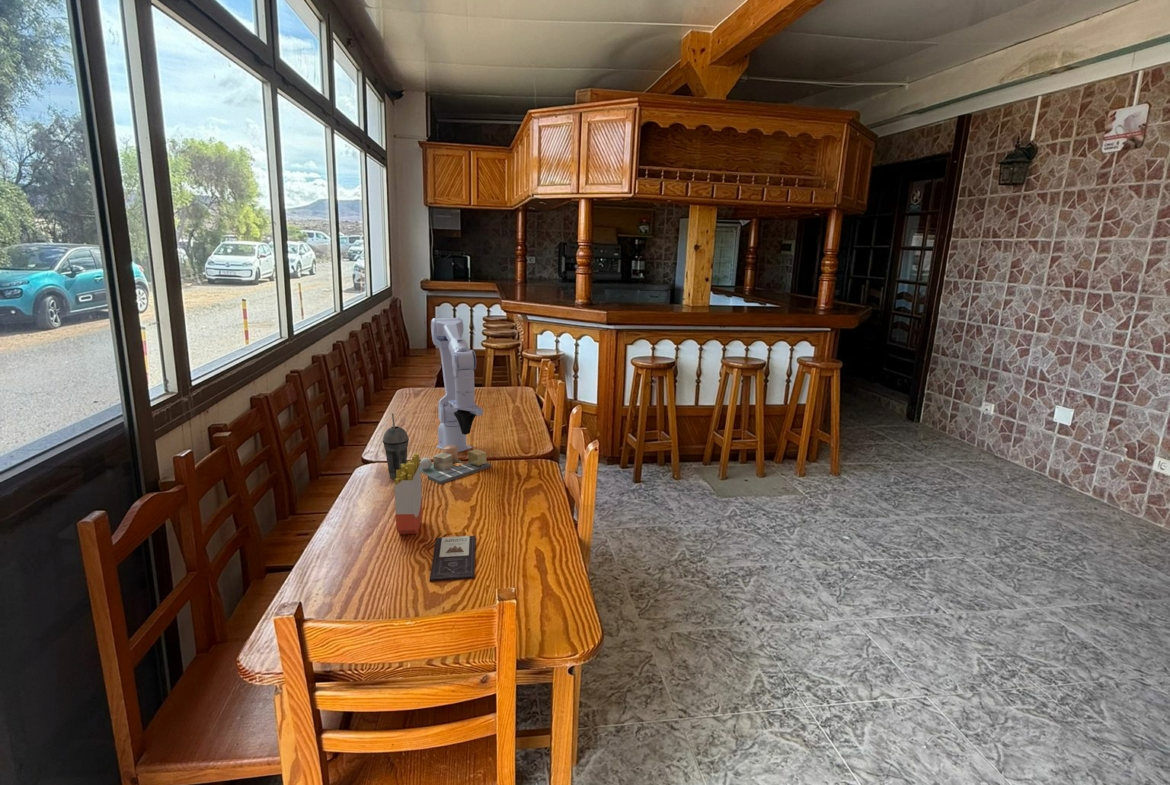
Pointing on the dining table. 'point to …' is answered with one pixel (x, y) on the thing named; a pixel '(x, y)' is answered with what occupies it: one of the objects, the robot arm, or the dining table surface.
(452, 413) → the robot arm
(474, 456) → the tan cardboard cube
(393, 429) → the beverage cup
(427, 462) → the grey ball
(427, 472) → the slate mat
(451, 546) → the chocolate bar
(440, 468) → the birch block
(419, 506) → the french fries container
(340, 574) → the dining table surface
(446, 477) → the board
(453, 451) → the peach domed cylinder
